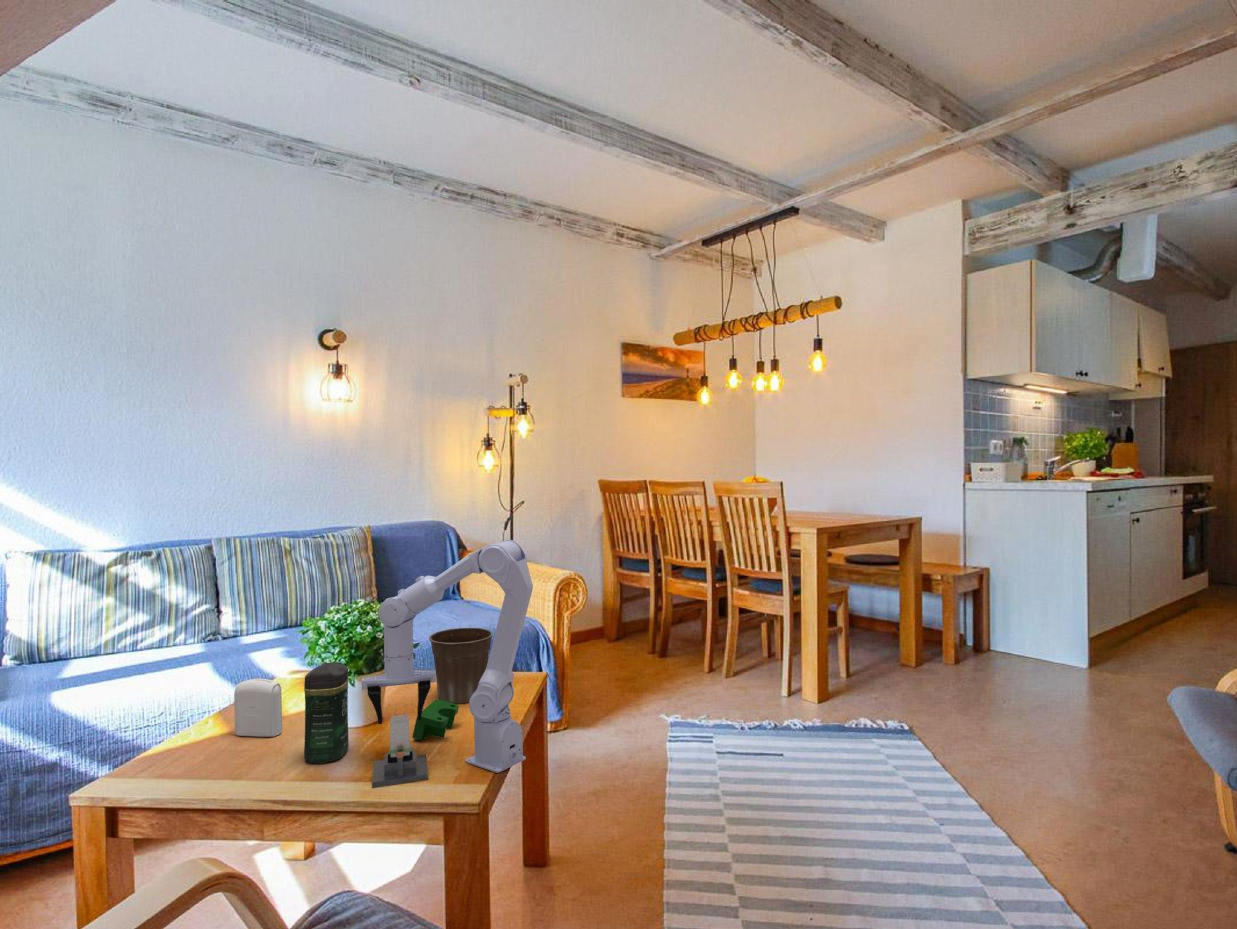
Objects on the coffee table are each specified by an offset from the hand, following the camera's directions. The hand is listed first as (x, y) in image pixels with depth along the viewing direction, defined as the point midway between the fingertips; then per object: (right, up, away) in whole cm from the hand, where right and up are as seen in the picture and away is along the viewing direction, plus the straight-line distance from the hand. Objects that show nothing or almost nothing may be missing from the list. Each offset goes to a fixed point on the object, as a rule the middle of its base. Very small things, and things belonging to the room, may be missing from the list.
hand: (400, 720), depth 143 cm
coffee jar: (-15, -8, +1) cm, 17 cm away
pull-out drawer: (+3, -3, -9) cm, 10 cm away
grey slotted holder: (+3, -7, -9) cm, 12 cm away
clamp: (+5, -8, +12) cm, 15 cm away
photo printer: (-36, -8, +13) cm, 39 cm away
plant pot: (+5, -8, +37) cm, 38 cm away
